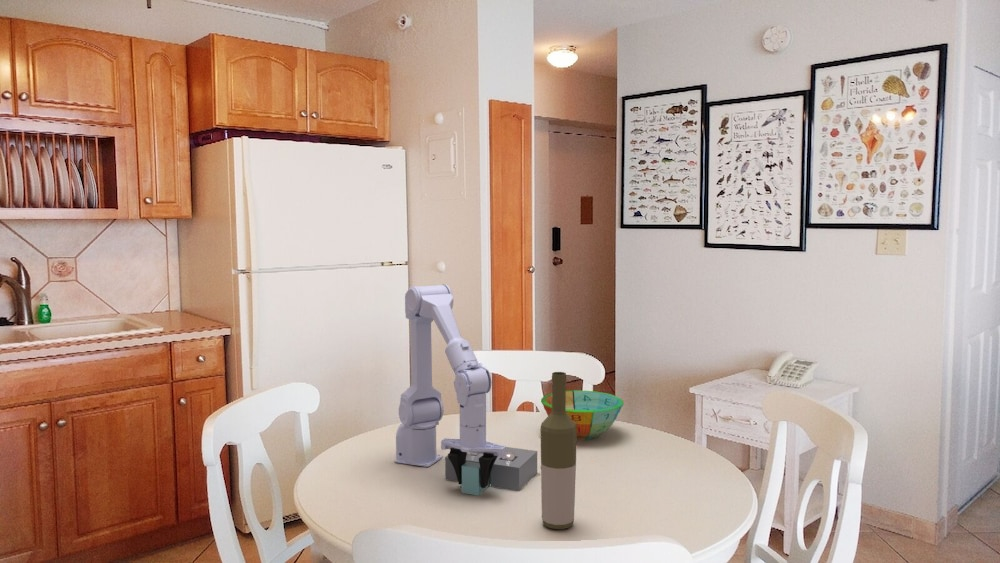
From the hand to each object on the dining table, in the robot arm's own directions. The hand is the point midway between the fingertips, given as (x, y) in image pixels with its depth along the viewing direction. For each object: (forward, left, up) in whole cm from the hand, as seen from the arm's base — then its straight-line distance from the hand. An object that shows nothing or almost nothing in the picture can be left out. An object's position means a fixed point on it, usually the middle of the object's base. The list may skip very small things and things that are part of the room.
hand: (473, 484), depth 155 cm
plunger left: (-5, +9, +2) cm, 11 cm away
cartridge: (0, +6, -2) cm, 6 cm away
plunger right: (+4, +9, +2) cm, 11 cm away
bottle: (+22, -8, -2) cm, 24 cm away
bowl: (+11, +48, -2) cm, 49 cm away
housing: (0, +10, -2) cm, 11 cm away
